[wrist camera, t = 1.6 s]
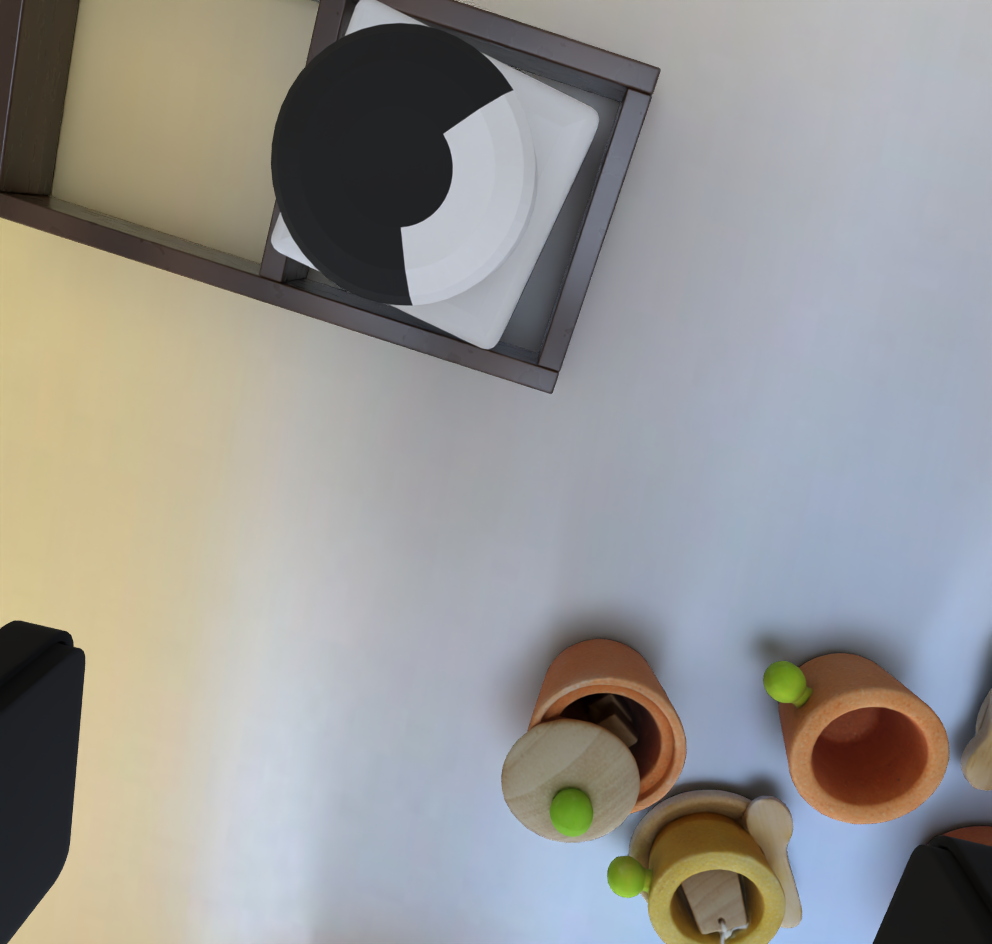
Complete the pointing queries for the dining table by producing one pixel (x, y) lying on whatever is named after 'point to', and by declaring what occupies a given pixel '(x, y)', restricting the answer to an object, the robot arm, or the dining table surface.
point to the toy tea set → (715, 813)
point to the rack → (279, 279)
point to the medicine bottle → (423, 171)
